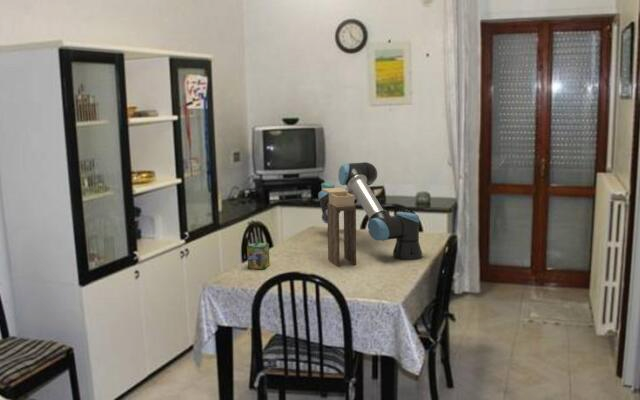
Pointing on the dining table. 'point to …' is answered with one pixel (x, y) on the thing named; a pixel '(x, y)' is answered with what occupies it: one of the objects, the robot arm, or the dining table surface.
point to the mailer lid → (332, 189)
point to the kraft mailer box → (341, 199)
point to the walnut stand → (348, 233)
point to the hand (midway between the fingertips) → (344, 196)
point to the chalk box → (258, 255)
